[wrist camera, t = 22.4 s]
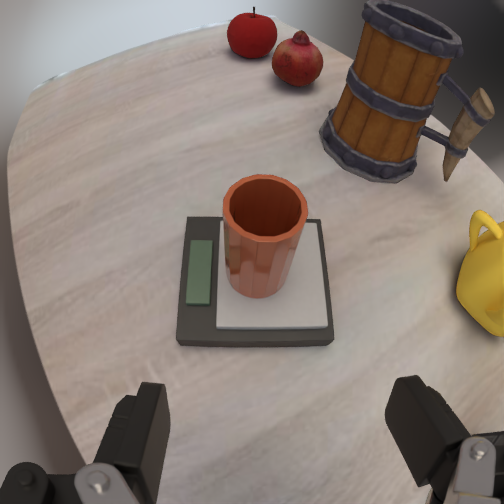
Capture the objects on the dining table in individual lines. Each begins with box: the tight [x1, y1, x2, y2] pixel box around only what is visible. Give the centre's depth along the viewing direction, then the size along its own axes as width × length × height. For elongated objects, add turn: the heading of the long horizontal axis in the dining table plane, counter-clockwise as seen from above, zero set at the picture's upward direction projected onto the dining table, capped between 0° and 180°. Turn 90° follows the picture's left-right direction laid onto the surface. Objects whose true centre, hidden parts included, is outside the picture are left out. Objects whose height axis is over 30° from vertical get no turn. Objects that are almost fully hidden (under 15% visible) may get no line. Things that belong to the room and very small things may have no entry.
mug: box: [319, 0, 495, 183], centre depth 32 cm, size 19×14×20 cm
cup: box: [223, 174, 308, 299], centre depth 24 cm, size 5×5×9 cm
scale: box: [176, 217, 334, 347], centre depth 29 cm, size 13×12×3 cm
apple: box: [227, 7, 277, 58], centre depth 48 cm, size 9×9×10 cm
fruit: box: [272, 30, 323, 87], centre depth 43 cm, size 8×8×10 cm
